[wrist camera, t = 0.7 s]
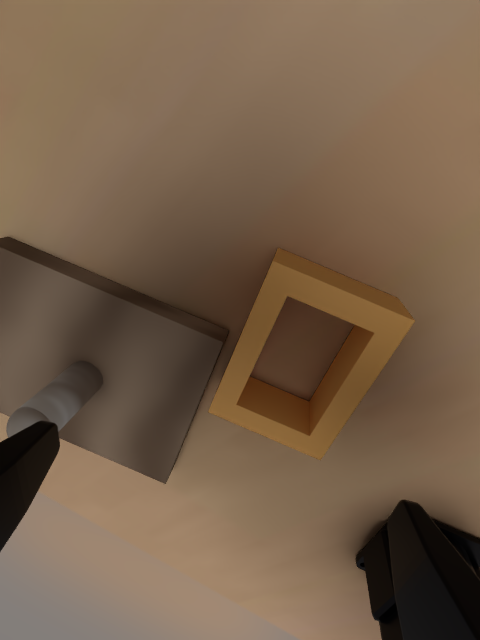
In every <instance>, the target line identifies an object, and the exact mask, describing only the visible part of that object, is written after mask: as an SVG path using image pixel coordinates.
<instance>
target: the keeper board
mask: <svg viewBox="0 0 480 640" xmlns="http://www.w3.org/2000/svg"><path fill="white" fill-rule="evenodd" d="M228 332H229V331H228V330H226V329H223V328H221V327H219V326H216V325H214V324H212V323H209V322H207V321H205V320H202V319H200V318H198V317H195V316H193V315H190V314H188V313H186V312H183V311H181V310H179V309H176V308H174V307H172V306H169V305H167V304H165V303H162V302H160V301H158V300H155V299H153V298H151V297H148V296H146V295H144V294H141V293H139V292H136V291H134V290H132V289H129V288H127V287H125V286H122V285H120V284H118V283H115V282H113V281H111V280H108V279H106V278H104V277H101V276H99V275H97V274H94V273H92V272H90V271H87V270H85V269H83V268H80V267H78V266H75V265H73V264H71V263H68V262H66V261H64V260H61V259H59V258H57V257H54V256H52V255H50V254H47V253H45V252H43V251H40V250H38V249H36V248H33V247H31V246H29V245H26V244H24V243H21V242H19V241H17V240H14V239H12V238H10V237H4V238H0V412H1V413H3V414H5V415H7V416H10V418H9V420H8V423H7V436H8V438H9V437H11V436H12V435H14V434H16V433H18V432H20V431H21V430H23V429H25V428H27V427H29V426H30V425H32V424H34V423H36V422H38V421H41V420H43V421H48V422H53V423H56V424H57V426H58V433H59V438H61V439H63V440H65V441H68V442H70V443H72V444H74V445H77V446H79V447H81V448H84V449H86V450H88V451H91V452H93V453H95V454H98V455H100V456H102V457H105V458H107V459H109V460H111V461H114V462H116V463H118V464H121V465H123V466H125V467H128V468H130V469H132V470H135V471H137V472H139V473H142V474H144V475H146V476H148V477H151V478H153V479H155V480H158V481H160V482H162V483H165V484H166V482H167V480H168V478H169V475H170V473H171V471H172V469H173V467H174V464H175V462H176V459H177V457H178V454H179V452H180V450H181V447H182V445H183V442H184V440H185V437H186V435H187V432H188V430H189V428H190V425H191V423H192V420H193V418H194V415H195V413H196V410H197V408H198V406H199V403H200V401H201V398H202V396H203V393H204V391H205V389H206V386H207V384H208V381H209V379H210V376H211V374H212V371H213V369H214V367H215V364H216V362H217V359H218V357H219V354H220V352H221V350H222V347H223V345H224V342H225V340H226V337H227V335H228Z"/></svg>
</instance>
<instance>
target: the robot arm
mask: <svg viewBox="0 0 480 640" xmlns="http://www.w3.org/2000/svg"><path fill="white" fill-rule="evenodd" d="M59 448H60V441H59V433H58V426H57V424H56V423H53V422H48V421H43V420H41V421H38V422H36V423H34V424H32V425H30V426H29V427H27V428H25V429H23V430H21V431H20V432H18V433H16V434H14V435H12V436H11V437H9V438H7V439H5V440H3V441H2V442H0V551H1V550H2V548H3V547H4V545H5V544H6V542H7V541H8V539H9V538H10V536H11V535H12V533H13V532H14V530H15V529H16V527H17V526H18V524H19V522H20V521H21V520H22V518H23V516H24V515H25V513H26V512H27V510H28V508H29V506H30V505H31V503H32V501H33V499H34V497H35V495H36V493H37V491H38V490H39V488H40V486H41V484H42V482H43V480H44V478H45V476H46V475H47V473H48V471H49V469H50V467H51V465H52V463H53V461H54V459H55V458H56V456H57V454H58V451H59ZM356 565H357V567H358V568H360V569H362V570H364V571H366V578H367V585H368V591H369V598H370V604H371V611H372V615H373V617H374V619H375V620H377V621H379V625H380V631H381V637H382V640H480V568H479V567H480V540H479V539H477V538H474V537H472V536H470V535H467V534H465V533H463V532H460V531H458V530H456V529H453V528H451V527H449V526H446V525H444V524H442V523H439V522H437V521H435V520H432V519H431V518H430V517H429V515H428V514H427V513H426V512H425V510H424V509H423V508H422V507H421V506H420V505H419V504H418V503H416V502H412V501H407V500H401V501H399V503H398V504H397V506H396V507H395V509H394V510H393V512H392V514H391V515H390V517H389V519H388V522H387V523H386V524H385V526H384V527H383V528H382V529H381V530H380V531H379V532H378V533H377V534H376V535H375V537H374V538H373V539H372V540H371V541H370V542H369V543H368V544H367V545H366V546H365V548H364V549H363V550H362V551H361V552H360V553H359V554H358V555H357V556H356Z"/></svg>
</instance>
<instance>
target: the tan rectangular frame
mask: <svg viewBox="0 0 480 640" xmlns="http://www.w3.org/2000/svg"><path fill="white" fill-rule="evenodd" d="M287 296H289V297H291V298H293V299H296V300H298V301H300V302H303V303H305V304H308V305H310V306H312V307H315V308H317V309H319V310H322V311H324V312H326V313H329V314H331V315H334V316H336V317H338V318H341V319H343V320H345V321H348V322H350V323H352V324H355V325H354V327H353V329H352V330H351V332H350V334H349V335H348V337H347V339H346V341H345V342H344V344H343V346H342V347H341V349H340V351H339V352H338V354H337V356H336V357H335V359H334V361H333V362H332V364H331V366H330V367H329V369H328V371H327V373H326V374H325V376H324V378H323V379H322V381H321V383H320V384H319V386H318V388H317V389H316V391H315V393H314V394H313V396H312V398H311V400H310V401H309V402H308V401H306V400H304V399H301V398H299V397H297V396H294V395H292V394H290V393H287V392H285V391H283V390H280V389H278V388H276V387H273V386H271V385H269V384H266V383H264V382H262V381H259V380H257V379H255V378H252V377H250V374H251V372H252V370H253V368H254V366H255V363H256V361H257V359H258V357H259V355H260V353H261V351H262V349H263V346H264V344H265V342H266V340H267V338H268V336H269V334H270V332H271V330H272V327H273V325H274V323H275V321H276V319H277V317H278V315H279V313H280V311H281V308H282V306H283V304H284V302H285V300H286V298H287ZM414 322H415V320H414V319H413V317H412V316H411V315H410V313H409V312H408V311H407V309H406V308H405V307H404V305H403V304H402V303H401V301H400V300H399V299H398V298H397V297H394V296H392V295H389V294H387V293H385V292H382V291H380V290H378V289H375V288H373V287H370V286H368V285H366V284H363V283H361V282H359V281H356V280H354V279H352V278H349V277H347V276H344V275H342V274H340V273H337V272H335V271H333V270H330V269H328V268H325V267H323V266H321V265H318V264H316V263H314V262H311V261H309V260H307V259H304V258H302V257H299V256H297V255H295V254H292V253H290V252H288V251H285V250H283V249H281V248H278V249H277V251H276V254H275V256H274V258H273V261H272V263H271V265H270V268H269V270H268V272H267V275H266V277H265V279H264V282H263V284H262V286H261V289H260V291H259V293H258V296H257V298H256V300H255V303H254V305H253V307H252V310H251V312H250V314H249V317H248V319H247V321H246V324H245V326H244V328H243V330H242V333H241V335H240V337H239V340H238V342H237V344H236V347H235V349H234V351H233V354H232V356H231V358H230V361H229V363H228V365H227V368H226V370H225V372H224V375H223V377H222V379H221V382H220V384H219V387H218V389H217V391H216V394H215V396H214V399H213V401H212V403H211V406H210V408H209V411H208V412H209V413H211V414H214V415H216V416H218V417H221V418H223V419H225V420H227V421H230V422H232V423H234V424H237V425H239V426H241V427H244V428H246V429H248V430H251V431H253V432H255V433H258V434H260V435H262V436H265V437H267V438H269V439H272V440H274V441H276V442H279V443H281V444H283V445H286V446H288V447H290V448H293V449H295V450H297V451H300V452H302V453H304V454H307V455H309V456H311V457H314V458H316V459H318V460H321V459H322V457H323V456H324V455H325V453H326V452H327V450H328V449H329V447H330V446H331V444H332V443H333V441H334V440H335V438H336V437H337V435H338V434H339V432H340V431H341V429H342V428H343V427H344V425H345V424H346V422H347V421H348V419H349V418H350V416H351V415H352V413H353V412H354V410H355V409H356V407H357V406H358V404H359V403H360V402H361V400H362V399H363V397H364V396H365V394H366V393H367V391H368V390H369V388H370V387H371V385H372V384H373V382H374V381H375V379H376V378H377V376H378V375H379V374H380V372H381V371H382V369H383V368H384V366H385V365H386V363H387V362H388V360H389V359H390V357H391V356H392V354H393V353H394V351H395V350H396V348H397V347H398V346H399V344H400V343H401V341H402V340H403V338H404V337H405V335H406V334H407V332H408V331H409V329H410V328H411V326H412V325H413V323H414Z"/></svg>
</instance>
